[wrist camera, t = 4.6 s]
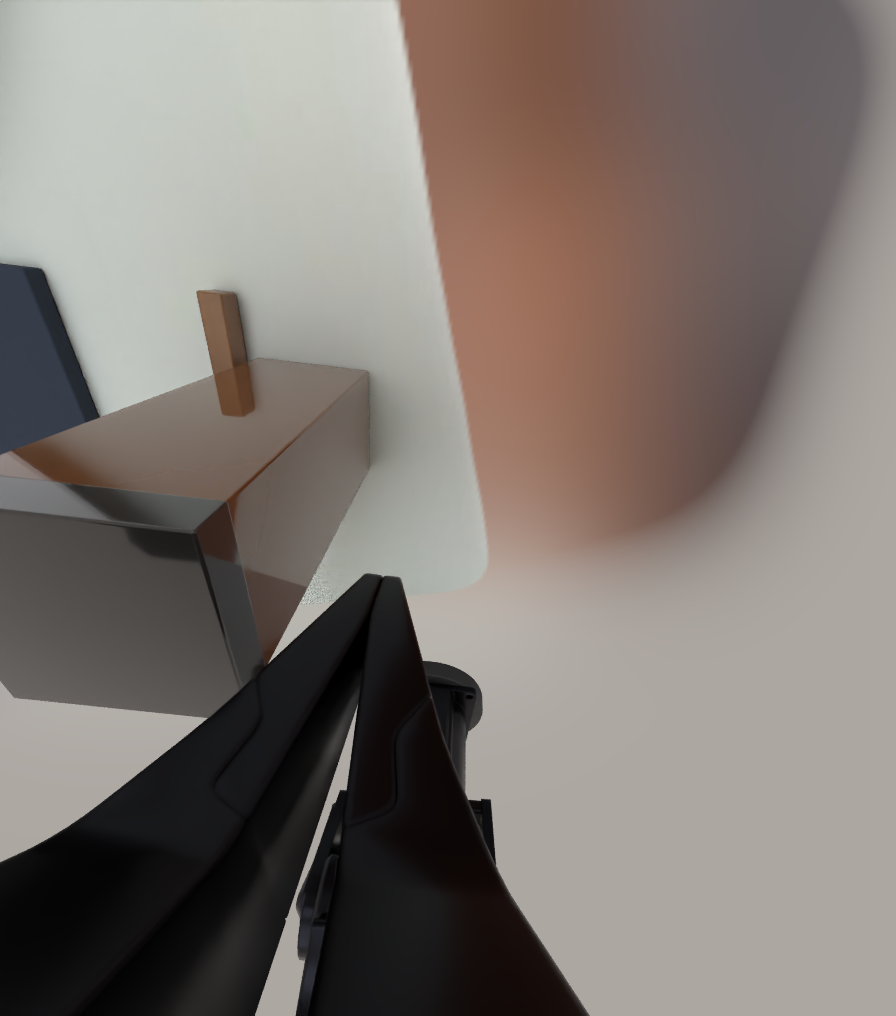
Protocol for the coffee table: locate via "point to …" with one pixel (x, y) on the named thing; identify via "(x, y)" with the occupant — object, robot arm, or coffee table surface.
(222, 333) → the stop
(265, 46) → the coffee table surface
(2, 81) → the coffee table surface
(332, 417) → the brown capped block
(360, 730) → the robot arm
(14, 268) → the mat
